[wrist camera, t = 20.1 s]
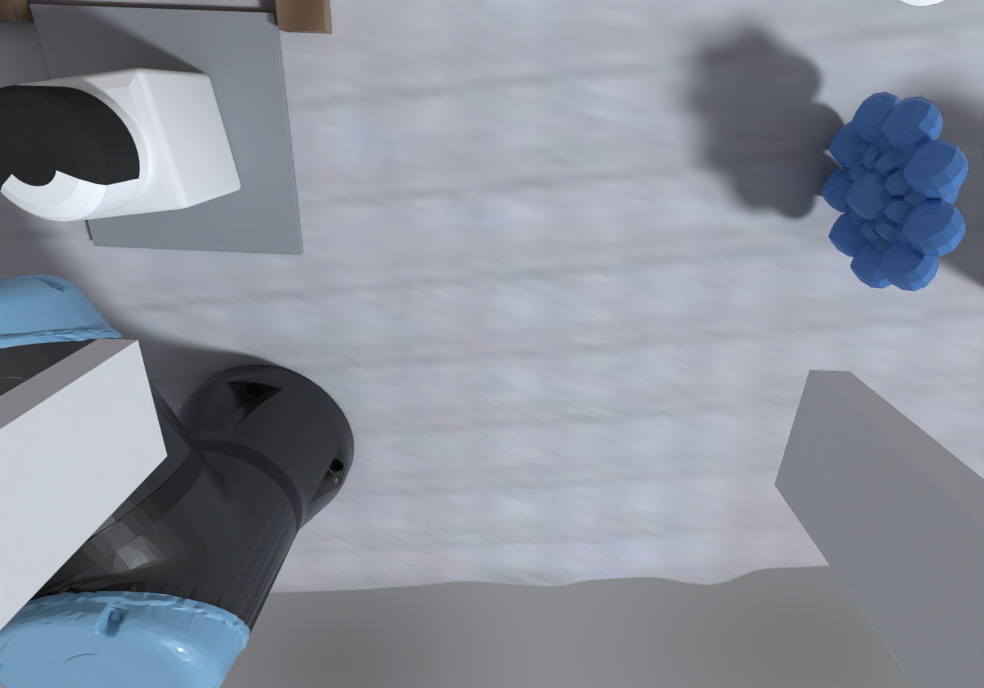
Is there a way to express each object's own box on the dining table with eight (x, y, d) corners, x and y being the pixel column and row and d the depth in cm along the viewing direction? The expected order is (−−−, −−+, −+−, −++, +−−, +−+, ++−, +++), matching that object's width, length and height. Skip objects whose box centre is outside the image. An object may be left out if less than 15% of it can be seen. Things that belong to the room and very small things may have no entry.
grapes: (882, 254, 41) (1016, 311, 30) (789, 263, 42) (889, 322, 31) (913, 85, 36) (1087, 79, 26) (809, 97, 37) (935, 96, 26)
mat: (99, 244, 43) (94, 246, 42) (36, 5, 36) (29, 3, 36) (303, 252, 42) (300, 254, 42) (277, 14, 36) (273, 13, 35)
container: (102, 87, 37) (-87, 81, 26) (210, 72, 37) (68, 60, 25) (144, 201, 41) (-7, 243, 29) (244, 189, 40) (132, 227, 28)
